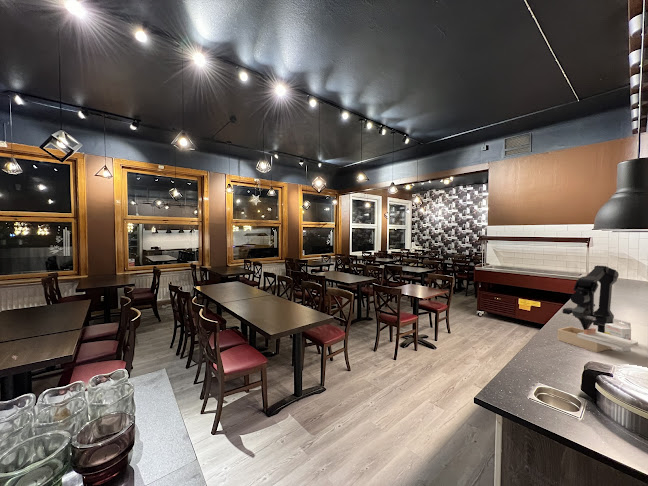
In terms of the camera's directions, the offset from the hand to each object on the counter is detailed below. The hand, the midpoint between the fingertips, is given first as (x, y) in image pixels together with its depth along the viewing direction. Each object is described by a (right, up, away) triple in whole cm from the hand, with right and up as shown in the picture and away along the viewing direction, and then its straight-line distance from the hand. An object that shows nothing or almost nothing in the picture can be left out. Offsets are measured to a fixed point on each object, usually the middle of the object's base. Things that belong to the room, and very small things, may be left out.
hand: (585, 330), depth 144 cm
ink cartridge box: (+12, -8, -4) cm, 15 cm away
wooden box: (0, -8, +1) cm, 8 cm away
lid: (+3, -3, -8) cm, 9 cm away
